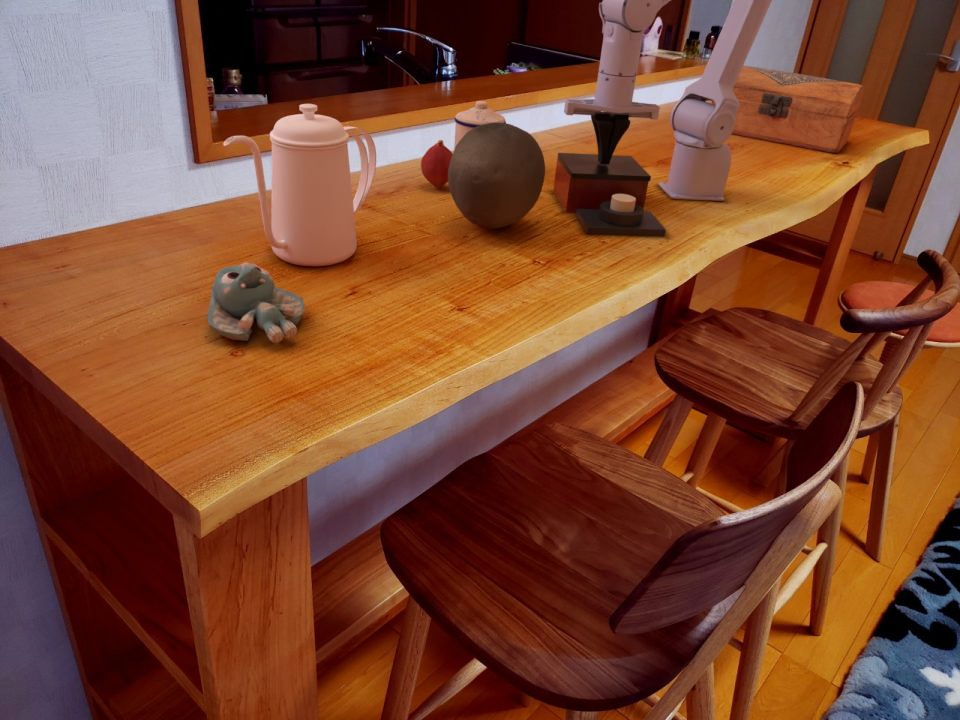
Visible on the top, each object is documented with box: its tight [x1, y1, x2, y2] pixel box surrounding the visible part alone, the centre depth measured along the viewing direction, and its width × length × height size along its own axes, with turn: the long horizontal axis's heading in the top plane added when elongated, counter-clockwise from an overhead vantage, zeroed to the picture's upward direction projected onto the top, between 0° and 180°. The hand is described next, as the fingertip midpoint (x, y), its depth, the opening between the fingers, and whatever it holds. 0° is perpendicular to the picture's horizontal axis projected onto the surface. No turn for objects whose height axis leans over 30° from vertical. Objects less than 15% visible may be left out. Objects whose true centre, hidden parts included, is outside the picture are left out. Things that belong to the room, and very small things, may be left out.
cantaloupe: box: [447, 122, 546, 230], centre depth 107 cm, size 14×14×15 cm
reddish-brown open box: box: [552, 157, 650, 214], centre depth 122 cm, size 11×13×6 cm
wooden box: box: [711, 65, 865, 154], centre depth 172 cm, size 30×16×14 cm, turn 58°
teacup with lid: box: [453, 100, 507, 150], centre depth 134 cm, size 12×9×12 cm
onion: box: [420, 139, 453, 189], centre depth 123 cm, size 6×6×8 cm
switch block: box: [574, 201, 667, 238], centre depth 114 cm, size 12×8×3 cm, turn 96°
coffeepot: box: [223, 103, 377, 267], centre depth 93 cm, size 11×25×19 cm, turn 148°
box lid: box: [557, 152, 652, 182], centre depth 120 cm, size 11×13×1 cm
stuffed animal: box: [206, 261, 306, 344], centre depth 79 cm, size 11×7×12 cm
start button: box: [610, 194, 636, 213], centre depth 113 cm, size 4×4×2 cm
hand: (603, 162), depth 120 cm, fingers closed
